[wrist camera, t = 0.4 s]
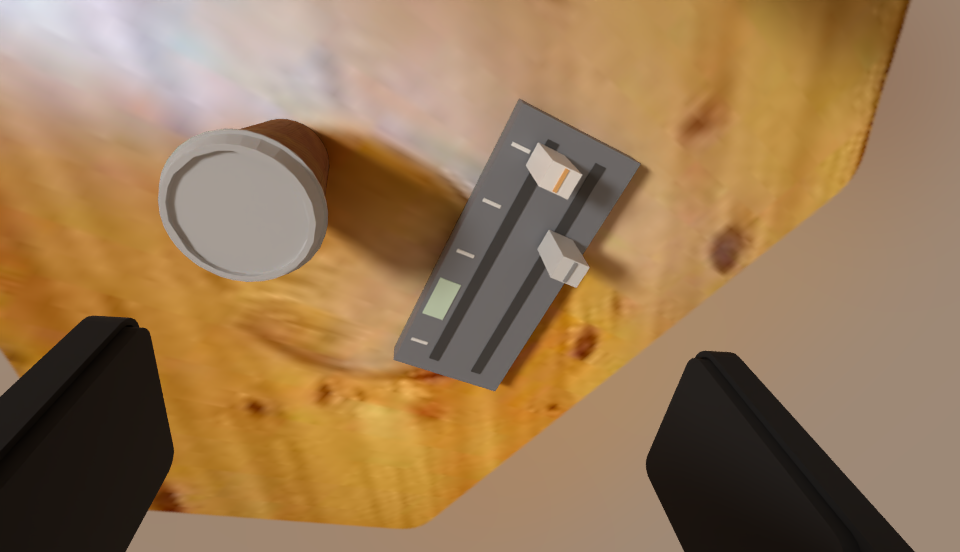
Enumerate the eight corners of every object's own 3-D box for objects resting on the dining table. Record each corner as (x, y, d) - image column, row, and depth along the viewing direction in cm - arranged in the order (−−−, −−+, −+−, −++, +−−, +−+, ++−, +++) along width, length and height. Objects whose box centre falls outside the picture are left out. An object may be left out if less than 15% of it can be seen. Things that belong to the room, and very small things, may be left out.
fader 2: (548, 229, 42) (564, 256, 37) (572, 239, 42) (590, 267, 38) (537, 249, 42) (550, 278, 38) (560, 258, 43) (576, 288, 39)
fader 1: (538, 142, 38) (553, 160, 33) (564, 155, 39) (582, 175, 34) (525, 165, 39) (539, 186, 34) (551, 177, 39) (567, 200, 35)
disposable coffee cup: (374, 170, 40) (358, 229, 30) (290, 236, 42) (246, 314, 32) (285, 68, 36) (229, 96, 25) (196, 148, 38) (110, 204, 27)
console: (519, 98, 38) (524, 103, 37) (631, 157, 42) (641, 164, 40) (394, 347, 49) (393, 360, 47) (492, 378, 52) (495, 391, 50)
